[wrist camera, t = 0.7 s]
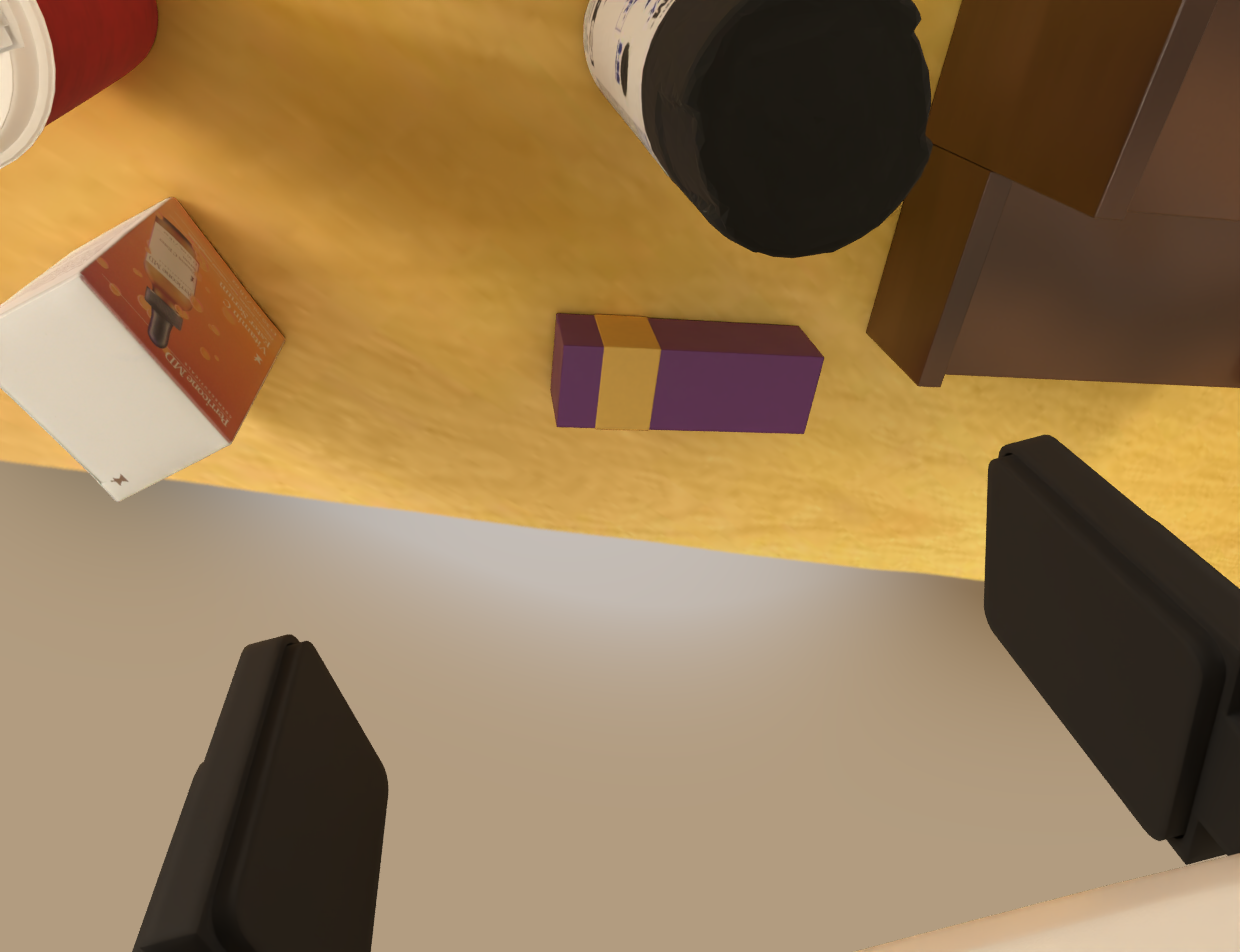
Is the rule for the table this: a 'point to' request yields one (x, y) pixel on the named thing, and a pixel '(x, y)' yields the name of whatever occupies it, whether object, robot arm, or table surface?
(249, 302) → the small box
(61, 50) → the paper cup
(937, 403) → the table surface
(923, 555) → the table surface
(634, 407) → the purple banded block
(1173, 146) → the step rack
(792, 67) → the spray can
